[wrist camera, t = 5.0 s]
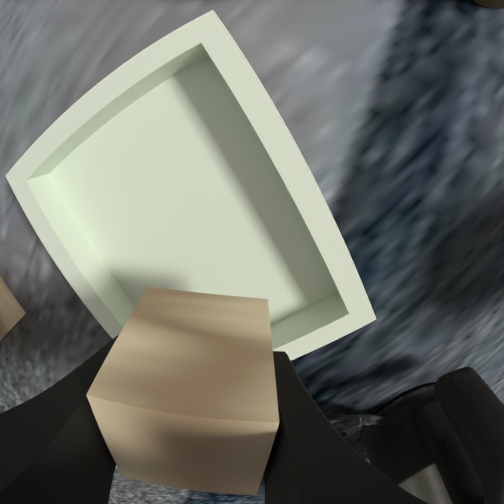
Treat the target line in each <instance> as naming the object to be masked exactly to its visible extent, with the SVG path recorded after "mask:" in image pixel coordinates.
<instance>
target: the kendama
mask: <svg viewBox="0 0 504 504" xmlns="http://www.w3.org/2000/svg"><path fill="white" fill-rule="evenodd" d="M473 1H474V2H475V3H477V4H479V5H481V6H485V7H489V8H504V0H473Z"/></svg>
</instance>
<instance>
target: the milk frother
mask: <svg viewBox="0 0 504 504" xmlns="http://www.w3.org/2000/svg"><path fill="white" fill-rule="evenodd" d="M327 419H328V420H329V421H330V423H331V424H332V425H333V426H334V428H335V429H336V430H337V431H338V432H339V433H340V435H341V436H342V437H343V438H344V439H345V440H346V441H347V440H349V439H350V438H351V437H353V436H354V435H356V434H357V433H358V432H359V431H360V430H361V428H362V426H364V425H366V427H365V428H364V430H363V432H362V434H361V437H360V444H361V446H362V448H363V450H365V451H366V453H367V456H368V458H369V461H370V464H371V465H372V466H373V467H375V468H376V469H377V470H378V471H380V472H381V473H382V474H383V475H385V476H386V477H387V478H388V479H390V480H391V481H392V482H394V483H395V484H397V485H398V486H400V487H401V488H403V489H404V490H406V491H407V492H409V493H410V494H412V495H414V496H416V497H418V498H419V499H421V500H423V501H425V502H427V503H429V504H504V404H503V403H502V402H501V401H500V400H499V399H498V397H497V396H496V395H495V394H494V392H493V391H492V390H491V389H490V387H489V386H488V385H487V384H486V383H485V381H484V380H483V379H482V378H481V377H480V376H479V375H478V374H477V372H476V371H475V370H474V369H473V368H471V367H464V368H461V369H458V370H455V371H452V372H450V373H447V374H445V375H443V376H441V377H440V378H439V379H438V380H437V382H436V384H433V385H430V386H424V387H422V388H419V389H416V390H414V391H412V392H409V393H408V394H406V395H404V396H402V397H400V398H399V399H397V400H395V401H393V402H392V403H391V404H390V405H387V406H386V407H385V408H383V409H382V410H381V411H380V412H379V413H377V414H376V415H373V414H358V415H346V416H339V417H333V418H327Z"/></svg>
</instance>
